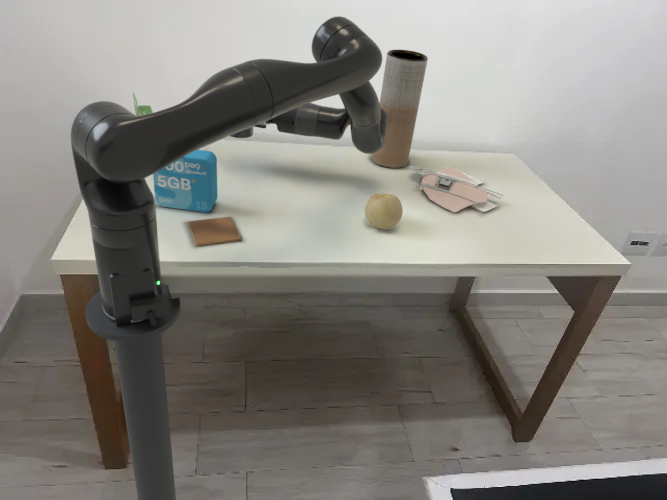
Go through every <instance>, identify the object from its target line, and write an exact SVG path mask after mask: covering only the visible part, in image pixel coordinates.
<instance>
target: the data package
mask: <svg viewBox="0 0 667 500" xmlns="http://www.w3.org/2000/svg"><path fill="white" fill-rule="evenodd" d="M152 179H153V191H154V199H155V203H156V204H157V205H158V206H160V207H163V208H169V209H170V208H172V209H178V210H187V211H193V212H201V213H209V212H210V211H211V210H212V209H213V208H214V206H215V203H216V202H217V200H218V158H217V155H216V154H215V153H214V152H213V151H211V150H205V149H198V150H196V151H194V152H192V153H190V154H188V155H186V156H185V157H183V158H181V159H179V160H177V161H176V162H174V163H172V164H170V165H169V166H167V167H165V168H163V169H161V170H160V171H158V172H156V173H154V174H152Z"/></svg>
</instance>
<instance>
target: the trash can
mask: <svg viewBox="0 0 667 500" xmlns="http://www.w3.org/2000/svg"><path fill="white" fill-rule="evenodd" d="M254 129H255V127H254V126H253V127H251V128H248V129H245V130H243V131H240V132H237V133H235V134H233V135H230V136H229V137H231V138H235V139H249V138H251V137H252V136H254Z"/></svg>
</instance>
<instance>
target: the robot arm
mask: <svg viewBox="0 0 667 500" xmlns="http://www.w3.org/2000/svg"><path fill="white" fill-rule="evenodd" d="M311 54H312V57H313V59H314V61H315V62H298V61H292V60H282V59H274V58H255V59H251V60H247V61H244V62H241V63H239V64H235V65H233V66H230V67H226V68H224V69H221V70H220V71H218V72H216V73H214V74H213V75H211V76H210V77H209V78H207V79H206V80H205V81H204V82H203V83H202V84H200V86H199V87H198V88H197V90H195V91H194V92H193V93H192V94H191V95H190V96H189V97H188V98H187V99H185V100H183V101H182V102H180V103H177V104H175V105H173V106H169V107H167V108H164V109H161V110H158V111H155V112H153V113H151V114H147V115H142V116H136V115H135V113H133V112H132V111H131V110H129V109H127V108H126V107H125V106H122V105H121V104H119V103H116V102H112V101H108V100H101V101H95V102H91V103H89V104H87V105H85V106H84V107H83V108H82V109H80V111H79V112H78V113H77V114H76V116H75V117H74V120H73V122H72V123H71V124H72V125H71V130H70V144H71V153H72V157H73V163H74V169H75V173H76V177H77V183H78V187H79V191H80V196H81V198H82V200H83V202H84V204H85V207H86V210H87V214H88V219H89V226H90V232H91V240H92V246H93V252H94V253H93V254H94V258H95V263H96V264H95V265H96V271H97V277H98V284H99V291H101V296H102V302H103V312H104V314H105V316H106V317H107V318H108V319H109V320H111V321H113V322H115V323H116V326H117V327H120V326H126V325H132V324H138V323H143V322H149V321H150V324H151V325H152V326H155V325H156V323H157V322H156V320H157V319H158V317H162V316H167V302H166V299H165V295H164V294H163V292H162V283H163V282H162V270H161V259H160V247H159V236H158V223H157V210H156V201H155V195H153V192H152V190H151V188H150V187H149V184H148V183H147V181H146V178H148V177H151V176H153V174H154V173H156V172H158V171H160V170H161V169H163V168H165V167H167V166H169V165H170V164H172V163H174V162H176V161H177V160H179V159H181V158H183V157H185V156H186V155H188V154H190V153H192V152H194V151H196V150H201V149H203V148H205V147H207V146H210V145H212V144H214V143H216V142H219V141H221V140H224V139H225V138H228V137H231V136H230V135H233V134H235V133H237V132H240V131H243V130H245V129H248V128H251V127H253V126H254V128H259V129H267V125H273V124H275V125H276V130H277V131H278V132H280V133H285V134H290V135H295V136H296V135H297V136H302V137H312V138H313V137H316V138H320V139H321V138H322V139H327V140H333V141H338V140H341V139H342V138H343V136H344V135H345V132H346V130H347V128H348V127H349V126H350V138H351V142H352V145H353V146H354V147H355V149H356V150H357V151H359V152H360V153H363V154H366V155H372V154H373V153H376V152H378V151H379V150H380V149H381V148H382V147H383V144H384V139H385V134H386V129H387V124H388V115H387V113H386V112H385V111H384V110H383V109H382V108H381V107H380V104H379V103H380V99H379V97H378V95H377V92H376V90H375V88H374V86H373V85H372V83H371V82H370V81H371V80H373V78H374V77H375V76H376V75H377V73H378V72H379V71H380V69H381V67H382V65H383V64H382V63H383V54H382V51H381V49H380V47H379V45H378V44H377V43H376V42H375V41H374V40H373V39H372V38H371V37H370V36H369V35H368V34H366V33H365V32H364V31H363V30H362V29H361V28H360V27H359V26H358V25H357V24H356V23H355V22H353V21H352V20H350V19H348V18H346V17H345V16H333V17H330V18H329V19H327V20H325V21H324V22H323V23H322V24H320V26H319V27H318V29H317V30H316V31H315V33H314V35H313V38H312V40H311ZM337 95H338V96H339V98H340V100H341V102H342V104H343V108H342V107H341V108H337V107H332V106H326V105H325V106H324V105H319V104H316V103H314V102H317V101H321V100H323V99H327V98H330V97H334V96H337Z"/></svg>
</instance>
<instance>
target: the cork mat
mask: <svg viewBox="0 0 667 500" xmlns="http://www.w3.org/2000/svg"><path fill="white" fill-rule="evenodd" d="M187 225H188V228H189V231H190V233H191V237H192V239H193V241H194V244H195V246H196V247H201V246H208V245H216V244H224V243H225V244H226V243H230V242H239V241H241V240H242V238H241V236H240V234H239V232H238V229H237V228H236V226H235V224H234V222H233V220H232V218H231V216H226V217H224V216H223V217H217V218H207V219H199V220H198V219H197V220H189V221H188V220H187Z"/></svg>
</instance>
